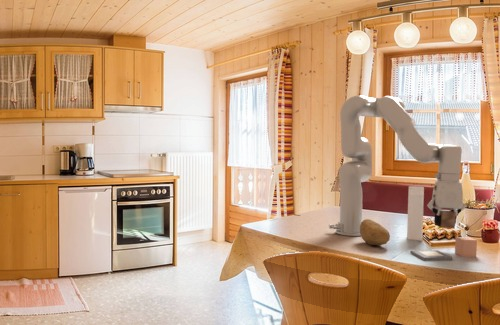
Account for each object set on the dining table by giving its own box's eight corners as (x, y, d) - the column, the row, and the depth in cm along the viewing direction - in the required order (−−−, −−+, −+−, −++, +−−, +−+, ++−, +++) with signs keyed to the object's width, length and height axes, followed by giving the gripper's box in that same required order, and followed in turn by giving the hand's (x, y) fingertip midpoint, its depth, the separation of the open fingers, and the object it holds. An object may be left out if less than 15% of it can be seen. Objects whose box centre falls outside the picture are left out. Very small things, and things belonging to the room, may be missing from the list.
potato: (371, 250, 162) (372, 225, 162) (354, 241, 177) (355, 218, 177) (393, 249, 164) (394, 224, 163) (374, 240, 179) (375, 217, 179)
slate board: (423, 260, 148) (424, 257, 148) (410, 253, 158) (410, 250, 158) (452, 260, 149) (452, 257, 149) (437, 252, 159) (437, 249, 159)
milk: (407, 236, 187) (408, 185, 186) (422, 238, 185) (423, 186, 184) (406, 239, 182) (408, 186, 181) (422, 240, 179) (424, 187, 179)
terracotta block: (462, 256, 154) (463, 240, 154) (454, 253, 159) (455, 237, 159) (476, 256, 155) (476, 240, 155) (467, 253, 160) (468, 236, 159)
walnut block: (441, 227, 163) (443, 211, 163) (435, 224, 168) (436, 209, 168) (454, 228, 164) (455, 212, 163) (447, 225, 169) (448, 209, 168)
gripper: (431, 178, 160) (428, 227, 162) (475, 179, 162) (471, 228, 163) (421, 176, 168) (418, 222, 169) (464, 177, 169) (460, 224, 171)
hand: (444, 225), depth 166 cm, fingers closed on walnut block, 5 cm apart
